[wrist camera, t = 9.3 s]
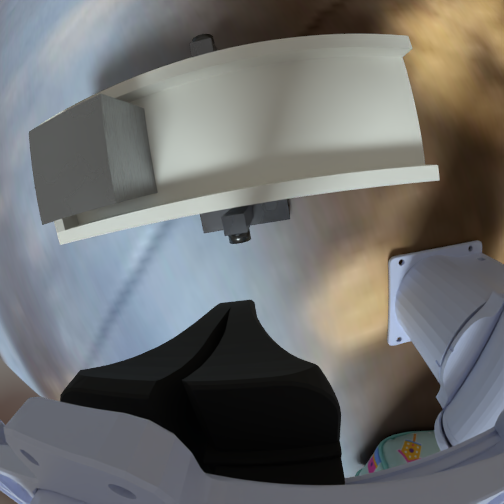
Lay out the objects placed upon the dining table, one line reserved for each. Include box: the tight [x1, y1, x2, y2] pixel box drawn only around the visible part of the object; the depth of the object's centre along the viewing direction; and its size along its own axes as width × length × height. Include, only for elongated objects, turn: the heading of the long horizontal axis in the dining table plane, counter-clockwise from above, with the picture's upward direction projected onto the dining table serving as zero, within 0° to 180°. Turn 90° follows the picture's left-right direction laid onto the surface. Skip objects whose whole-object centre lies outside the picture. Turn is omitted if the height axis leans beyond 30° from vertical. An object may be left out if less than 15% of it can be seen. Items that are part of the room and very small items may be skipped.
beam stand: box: [189, 34, 290, 244], centre depth 17 cm, size 6×12×6 cm, turn 10°
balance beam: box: [40, 34, 439, 245], centre depth 14 cm, size 22×8×3 cm, turn 100°
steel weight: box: [29, 94, 158, 225], centre depth 13 cm, size 5×5×4 cm
